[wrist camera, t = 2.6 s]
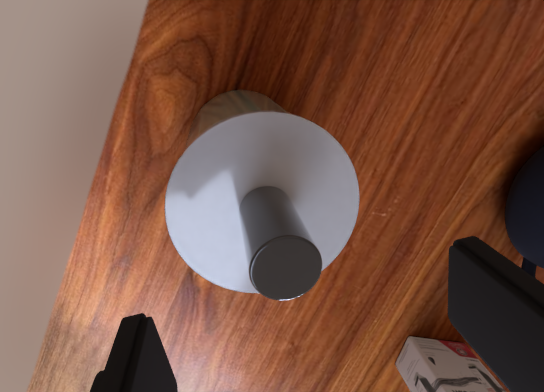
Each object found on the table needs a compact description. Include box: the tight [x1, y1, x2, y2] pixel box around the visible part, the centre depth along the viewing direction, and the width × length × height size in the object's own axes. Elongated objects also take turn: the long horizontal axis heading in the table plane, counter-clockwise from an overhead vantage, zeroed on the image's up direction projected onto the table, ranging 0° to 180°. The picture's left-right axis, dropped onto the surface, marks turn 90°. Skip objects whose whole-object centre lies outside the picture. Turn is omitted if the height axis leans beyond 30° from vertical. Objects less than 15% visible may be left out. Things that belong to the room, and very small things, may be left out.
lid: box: [165, 111, 359, 300], centre depth 17 cm, size 10×10×7 cm
